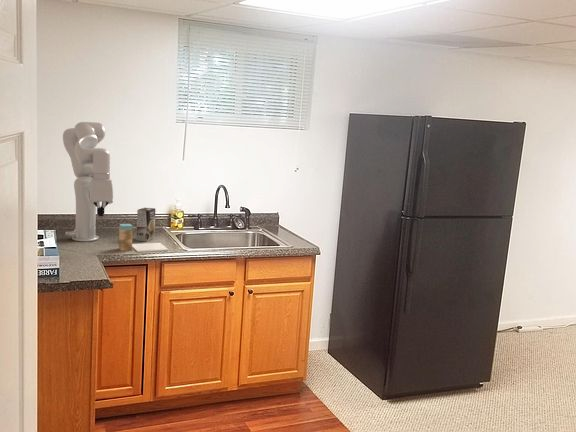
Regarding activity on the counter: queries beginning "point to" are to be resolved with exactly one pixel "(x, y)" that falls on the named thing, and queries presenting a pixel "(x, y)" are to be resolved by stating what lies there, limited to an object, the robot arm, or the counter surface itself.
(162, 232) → the counter surface
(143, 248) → the cutting board
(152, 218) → the coffee box
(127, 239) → the tan jar
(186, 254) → the counter surface
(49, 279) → the counter surface
